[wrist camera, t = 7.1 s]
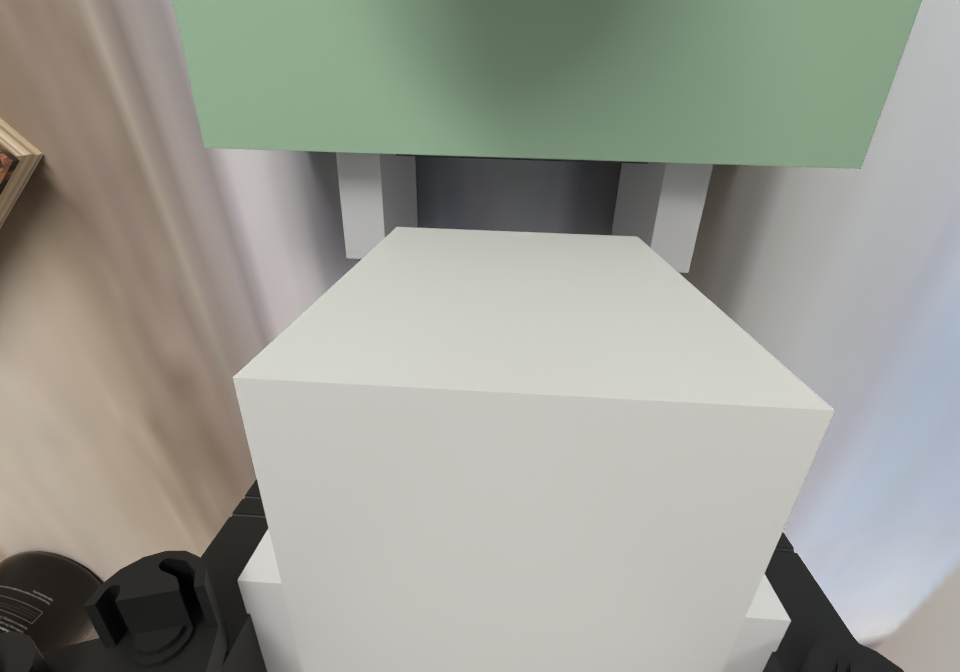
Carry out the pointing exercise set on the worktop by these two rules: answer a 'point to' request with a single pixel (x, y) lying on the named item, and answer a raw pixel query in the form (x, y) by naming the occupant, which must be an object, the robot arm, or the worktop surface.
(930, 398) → the worktop surface
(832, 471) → the worktop surface
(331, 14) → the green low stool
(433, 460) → the stepped white pillar
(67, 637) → the supplement bottle
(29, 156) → the hardcover book
